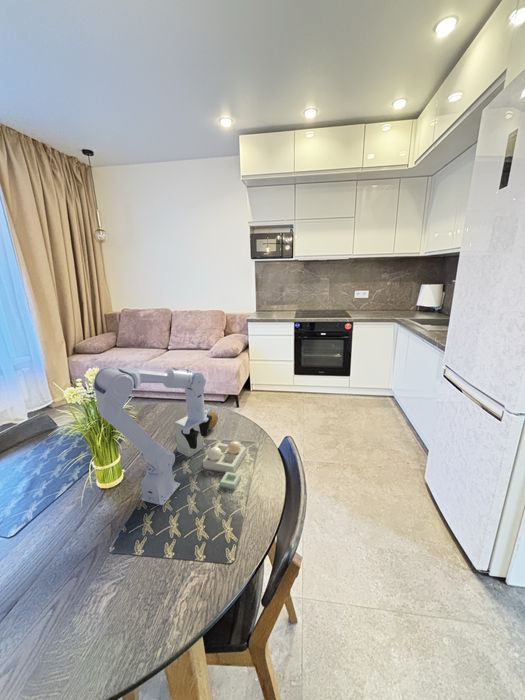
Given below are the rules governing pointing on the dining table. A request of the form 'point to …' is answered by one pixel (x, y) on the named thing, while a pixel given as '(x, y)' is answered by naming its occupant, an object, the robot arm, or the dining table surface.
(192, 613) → the dining table surface
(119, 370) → the robot arm
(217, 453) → the cream egg
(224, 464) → the carton
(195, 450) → the supplement box
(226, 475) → the mint square frame
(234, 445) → the brown egg
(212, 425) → the potato
